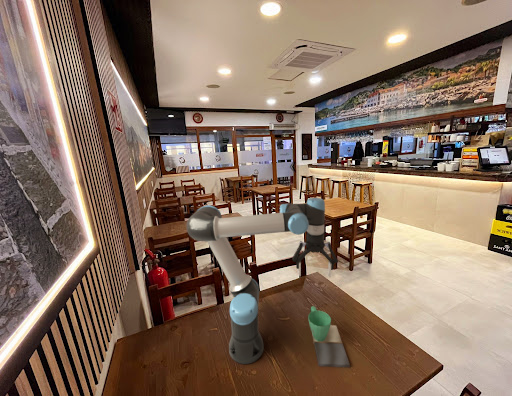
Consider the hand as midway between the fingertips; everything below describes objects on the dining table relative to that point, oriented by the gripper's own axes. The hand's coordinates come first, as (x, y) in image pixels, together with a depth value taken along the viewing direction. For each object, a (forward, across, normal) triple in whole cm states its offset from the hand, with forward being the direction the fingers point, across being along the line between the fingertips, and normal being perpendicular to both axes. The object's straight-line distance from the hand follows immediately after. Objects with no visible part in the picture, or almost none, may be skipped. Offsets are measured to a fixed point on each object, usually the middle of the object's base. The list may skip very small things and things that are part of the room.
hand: (314, 275), depth 104 cm
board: (+27, +5, -12) cm, 30 cm away
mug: (+26, +1, -6) cm, 27 cm away
